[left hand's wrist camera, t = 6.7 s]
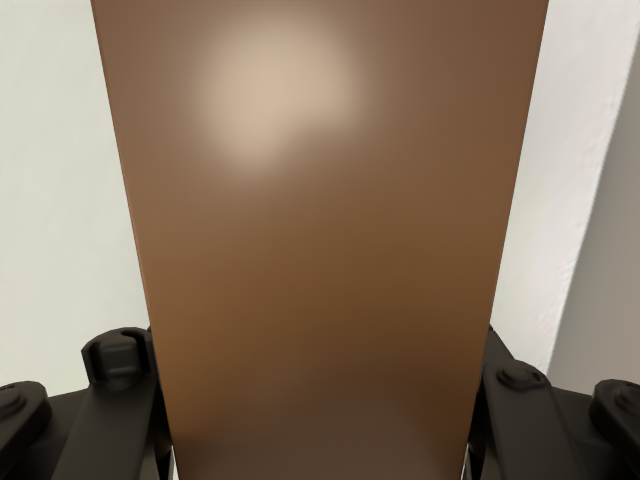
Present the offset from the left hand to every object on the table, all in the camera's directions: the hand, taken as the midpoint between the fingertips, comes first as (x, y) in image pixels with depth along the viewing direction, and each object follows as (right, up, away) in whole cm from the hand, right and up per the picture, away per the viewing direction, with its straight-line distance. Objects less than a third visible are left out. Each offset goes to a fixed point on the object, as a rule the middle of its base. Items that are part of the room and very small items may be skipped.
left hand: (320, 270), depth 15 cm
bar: (0, +7, -2) cm, 8 cm away
